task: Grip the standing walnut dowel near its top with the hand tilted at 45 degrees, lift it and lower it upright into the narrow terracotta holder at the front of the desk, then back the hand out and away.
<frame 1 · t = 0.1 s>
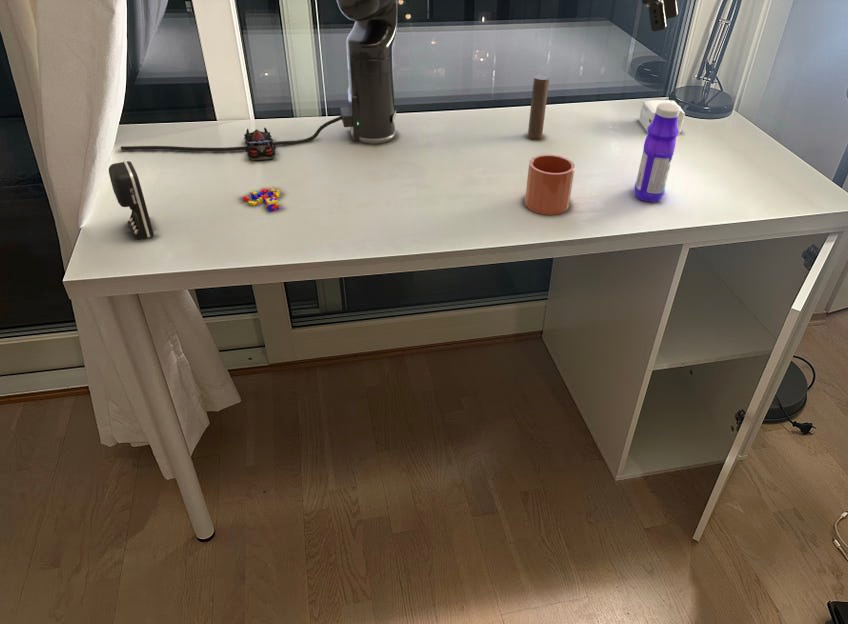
hand: (665, 23, 115), 31 cm above the table, tool tilted 20°, fingers open, 8 cm apart
small box: (658, 128, 164), on the table
toy car: (260, 149, 145), on the table
building blocks: (265, 202, 128), on the table
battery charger: (139, 231, 119), on the table
holder: (546, 204, 132), on the table
dowel: (534, 137, 156), on the table
bottle: (647, 196, 137), on the table
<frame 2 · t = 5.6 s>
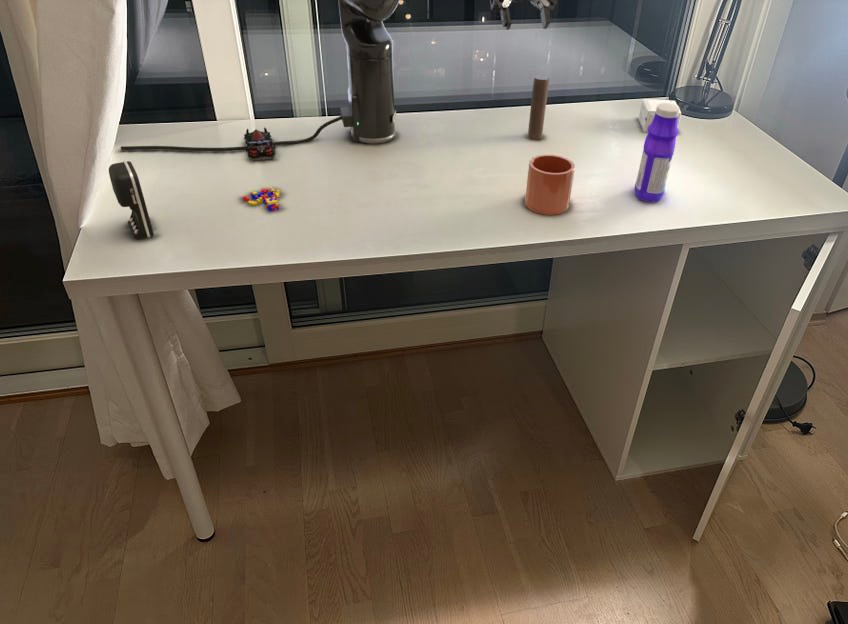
hand: (527, 27, 152), 20 cm above the table, tool tilted 45°, fingers open, 8 cm apart
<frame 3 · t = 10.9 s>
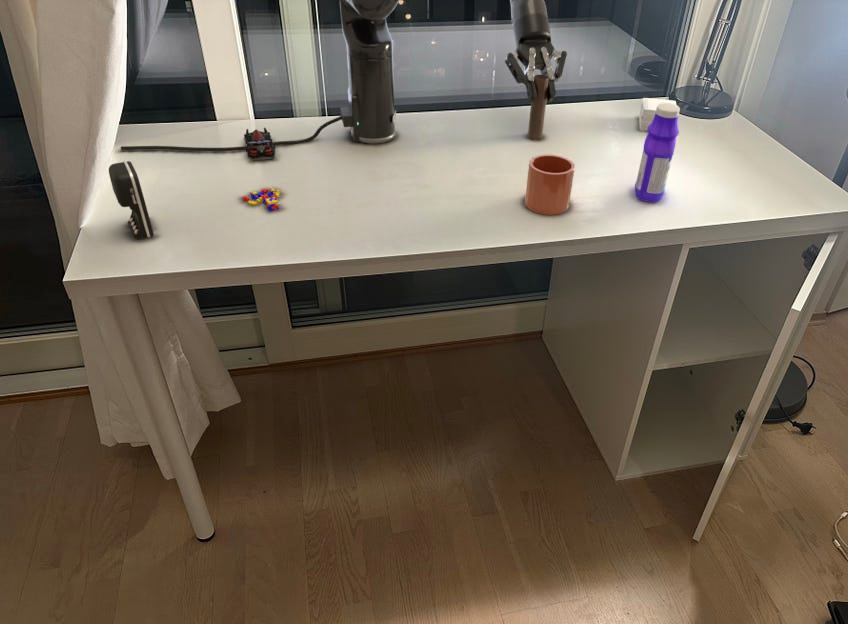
hand: (542, 99, 149), 9 cm above the table, tool tilted 45°, fingers closed on dowel, 3 cm apart
dowel: (534, 137, 156), on the table, touching gripper
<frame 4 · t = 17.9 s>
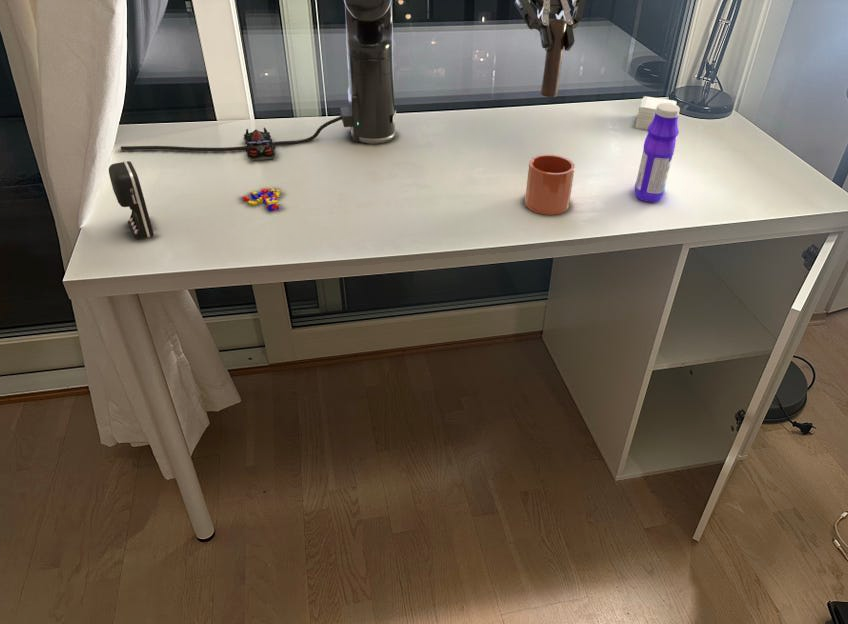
hand: (559, 48, 127), 24 cm above the table, tool tilted 45°, fingers closed on dowel, 3 cm apart
dowel: (548, 94, 135), point 15 cm above the table, touching gripper
when the fingers open (11 cm above the table, at t = 25.3 s): dowel drops 1 cm, resting on holder.
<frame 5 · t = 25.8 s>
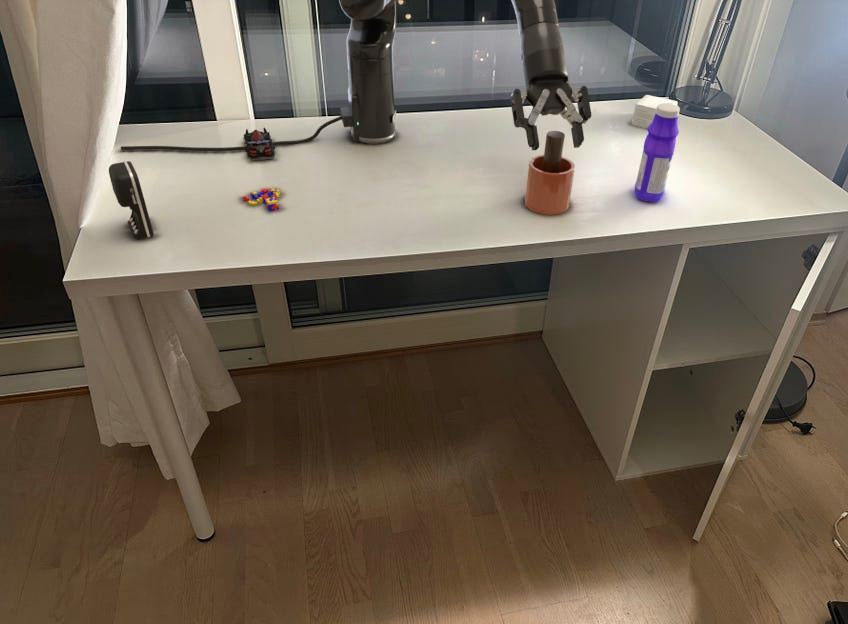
hand: (557, 147, 124), 12 cm above the table, tool tilted 45°, fingers open, 7 cm apart
dowel: (546, 201, 132), point 1 cm above the table, touching holder
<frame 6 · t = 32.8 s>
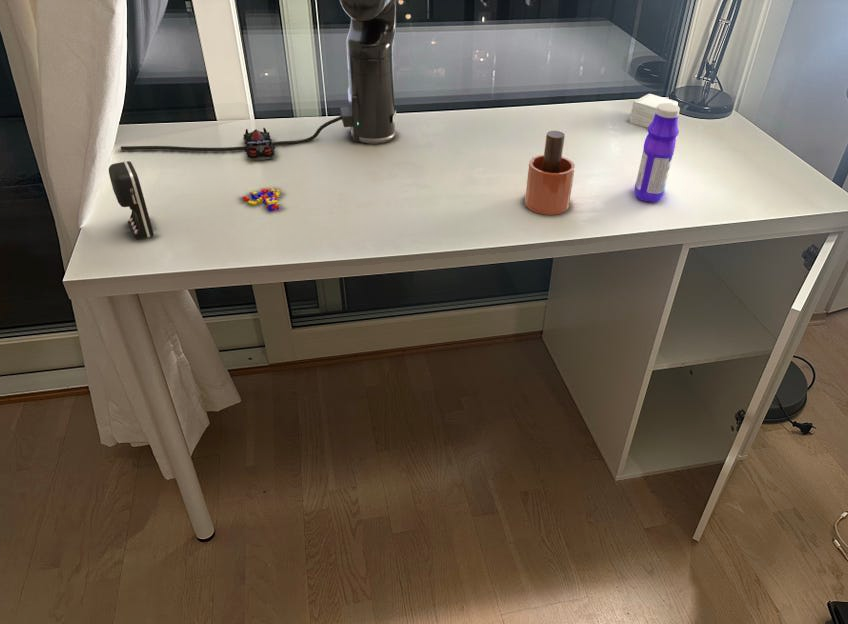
hand: (508, 4, 133), 28 cm above the table, tool pointing down, fingers open, 8 cm apart
at the end: dowel 0.0 cm off-centre in the holder, point 0.6 cm above the holder's base; dowel tilted 0°; the gripper is holding nothing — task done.
